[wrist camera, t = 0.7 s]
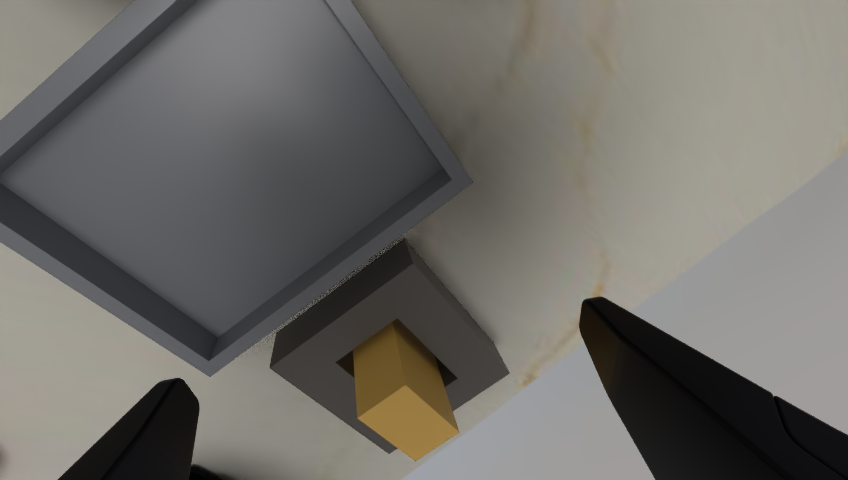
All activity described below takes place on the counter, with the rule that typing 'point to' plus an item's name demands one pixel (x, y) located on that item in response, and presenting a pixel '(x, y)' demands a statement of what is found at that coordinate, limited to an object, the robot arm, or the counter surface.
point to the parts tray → (219, 166)
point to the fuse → (402, 391)
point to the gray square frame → (369, 313)
